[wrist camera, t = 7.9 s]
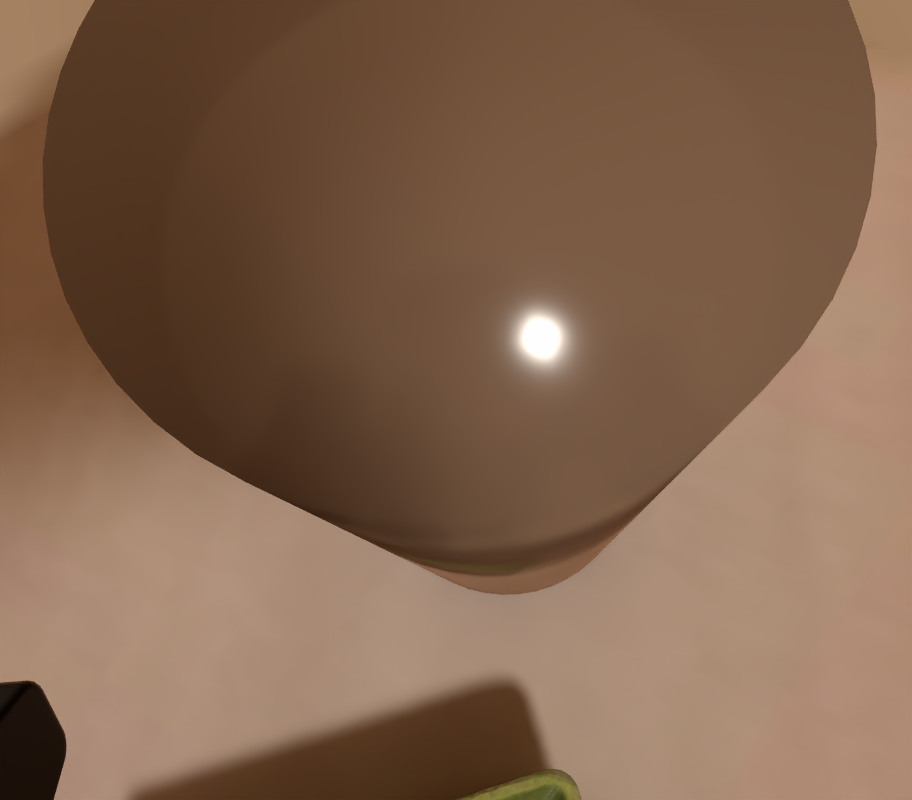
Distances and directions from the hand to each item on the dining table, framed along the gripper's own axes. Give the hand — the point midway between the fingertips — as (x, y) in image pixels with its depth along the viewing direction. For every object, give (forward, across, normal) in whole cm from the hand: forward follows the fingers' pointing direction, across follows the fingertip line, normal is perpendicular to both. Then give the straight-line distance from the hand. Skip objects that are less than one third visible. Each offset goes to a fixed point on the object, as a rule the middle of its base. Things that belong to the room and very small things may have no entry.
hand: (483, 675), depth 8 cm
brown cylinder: (+9, 0, +4) cm, 10 cm away
